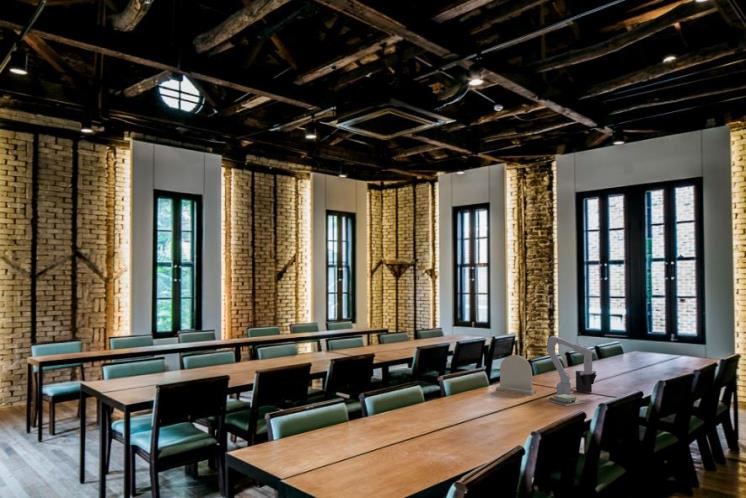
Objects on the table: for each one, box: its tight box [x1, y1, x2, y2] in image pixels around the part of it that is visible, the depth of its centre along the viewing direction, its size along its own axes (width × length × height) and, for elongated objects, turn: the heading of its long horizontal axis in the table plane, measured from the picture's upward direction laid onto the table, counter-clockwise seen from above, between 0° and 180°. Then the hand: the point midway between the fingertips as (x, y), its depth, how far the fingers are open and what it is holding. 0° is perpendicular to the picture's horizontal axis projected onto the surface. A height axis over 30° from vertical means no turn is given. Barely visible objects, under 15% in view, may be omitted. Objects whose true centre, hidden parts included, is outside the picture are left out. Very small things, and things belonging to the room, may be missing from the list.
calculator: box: [575, 370, 593, 393], centre depth 396 cm, size 11×4×15 cm, turn 84°
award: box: [495, 354, 537, 396], centre depth 392 cm, size 28×9×28 cm, turn 54°
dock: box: [547, 396, 588, 407], centre depth 360 cm, size 16×20×3 cm
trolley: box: [554, 394, 577, 402], centre depth 359 cm, size 10×10×4 cm
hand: (588, 384), depth 375 cm, fingers open, 7 cm apart
